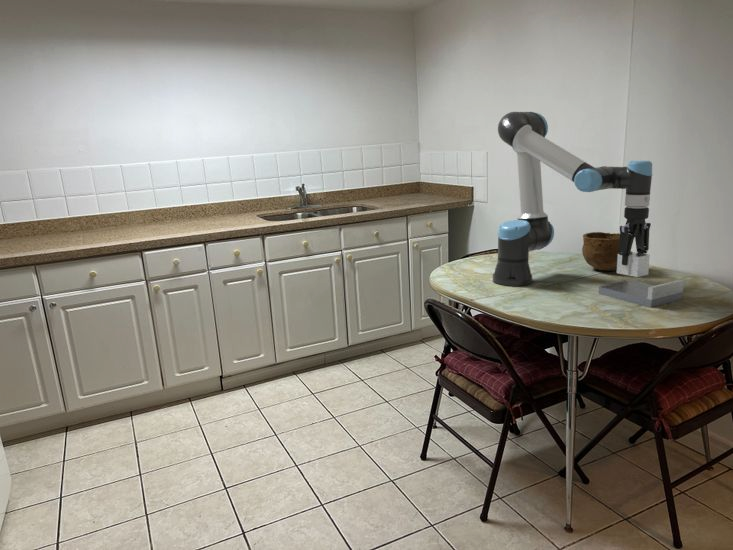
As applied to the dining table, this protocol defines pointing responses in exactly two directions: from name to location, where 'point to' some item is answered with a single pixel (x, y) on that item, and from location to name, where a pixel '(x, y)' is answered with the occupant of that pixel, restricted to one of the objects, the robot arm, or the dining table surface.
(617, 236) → the bowl
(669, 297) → the ledge
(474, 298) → the dining table surface
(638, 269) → the grey block
